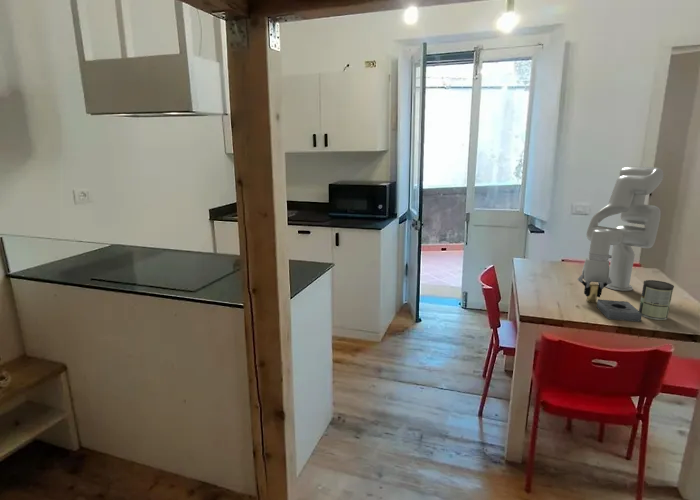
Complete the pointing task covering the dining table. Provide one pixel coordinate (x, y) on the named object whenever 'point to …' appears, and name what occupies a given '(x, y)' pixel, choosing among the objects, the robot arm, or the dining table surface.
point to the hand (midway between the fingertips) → (592, 295)
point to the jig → (619, 310)
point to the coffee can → (656, 299)
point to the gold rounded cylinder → (593, 293)
